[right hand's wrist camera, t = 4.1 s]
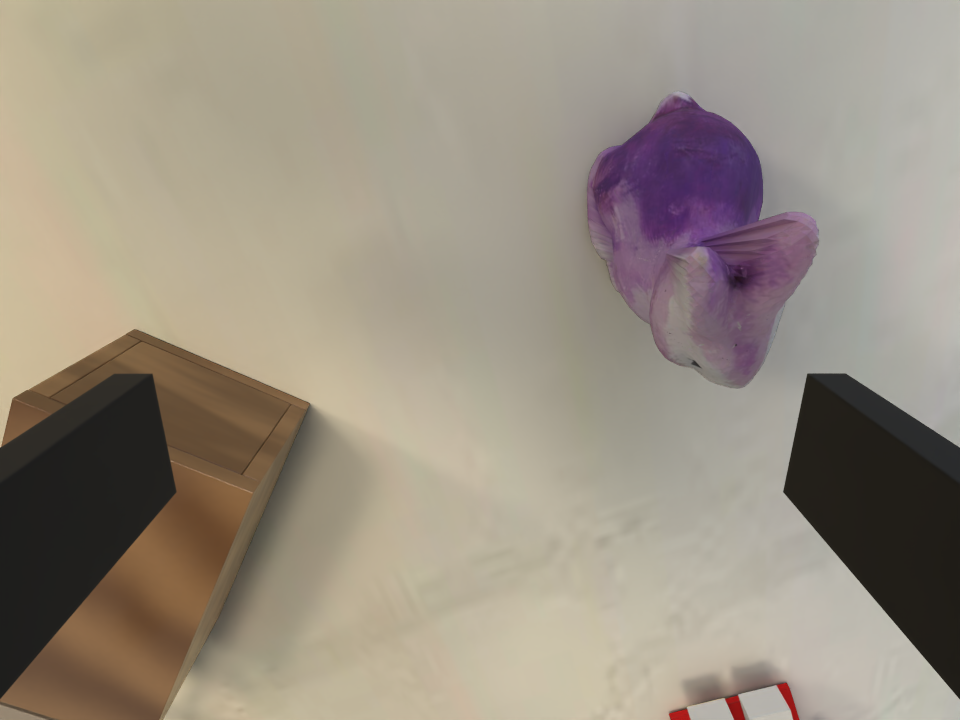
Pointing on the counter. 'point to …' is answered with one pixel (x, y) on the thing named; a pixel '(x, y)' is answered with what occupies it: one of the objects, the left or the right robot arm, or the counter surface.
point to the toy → (745, 706)
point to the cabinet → (161, 533)
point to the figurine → (697, 240)
